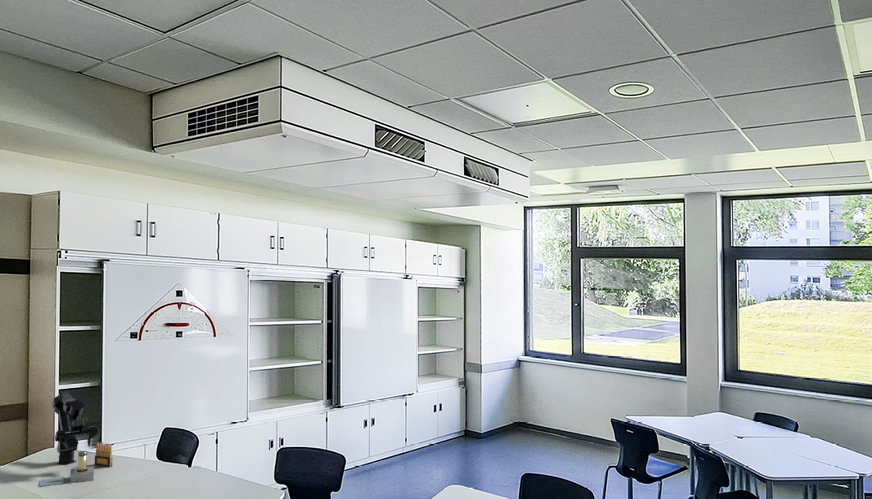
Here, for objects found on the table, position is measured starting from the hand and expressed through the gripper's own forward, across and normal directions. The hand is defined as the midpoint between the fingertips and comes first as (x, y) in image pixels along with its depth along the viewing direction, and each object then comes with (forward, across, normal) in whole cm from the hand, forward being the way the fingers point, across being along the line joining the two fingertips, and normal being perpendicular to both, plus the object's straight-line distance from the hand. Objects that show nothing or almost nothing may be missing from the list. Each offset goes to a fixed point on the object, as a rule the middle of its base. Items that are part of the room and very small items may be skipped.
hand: (79, 447), depth 317 cm
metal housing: (+15, 0, +4) cm, 16 cm away
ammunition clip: (+4, +14, +15) cm, 21 cm away
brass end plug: (+15, 0, +4) cm, 16 cm away
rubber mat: (+13, -12, +6) cm, 19 cm away
